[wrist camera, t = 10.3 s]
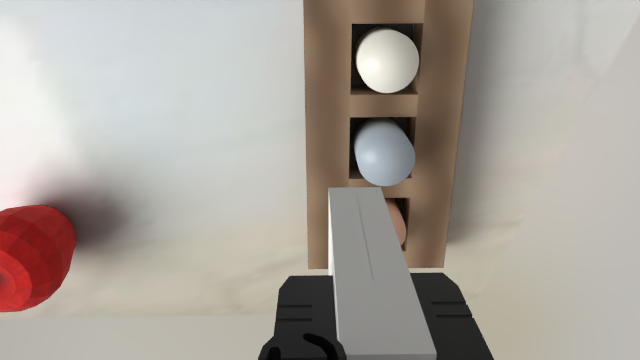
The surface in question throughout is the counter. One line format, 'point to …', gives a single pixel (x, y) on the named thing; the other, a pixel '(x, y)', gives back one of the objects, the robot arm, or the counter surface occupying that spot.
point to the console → (386, 115)
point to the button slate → (383, 151)
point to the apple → (33, 255)
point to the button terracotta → (396, 219)
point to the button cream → (386, 59)
